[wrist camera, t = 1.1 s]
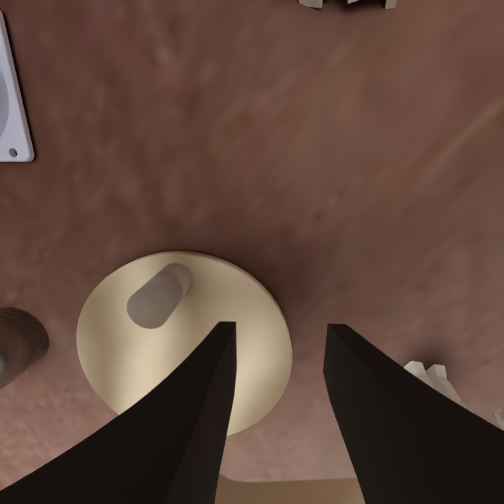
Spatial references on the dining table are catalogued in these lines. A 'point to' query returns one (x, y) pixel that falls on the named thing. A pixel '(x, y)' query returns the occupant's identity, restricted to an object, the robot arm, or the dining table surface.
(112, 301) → the turntable
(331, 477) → the dining table surface
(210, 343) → the robot arm
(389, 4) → the grey piece
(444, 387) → the toy robot
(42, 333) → the grey short cylinder
